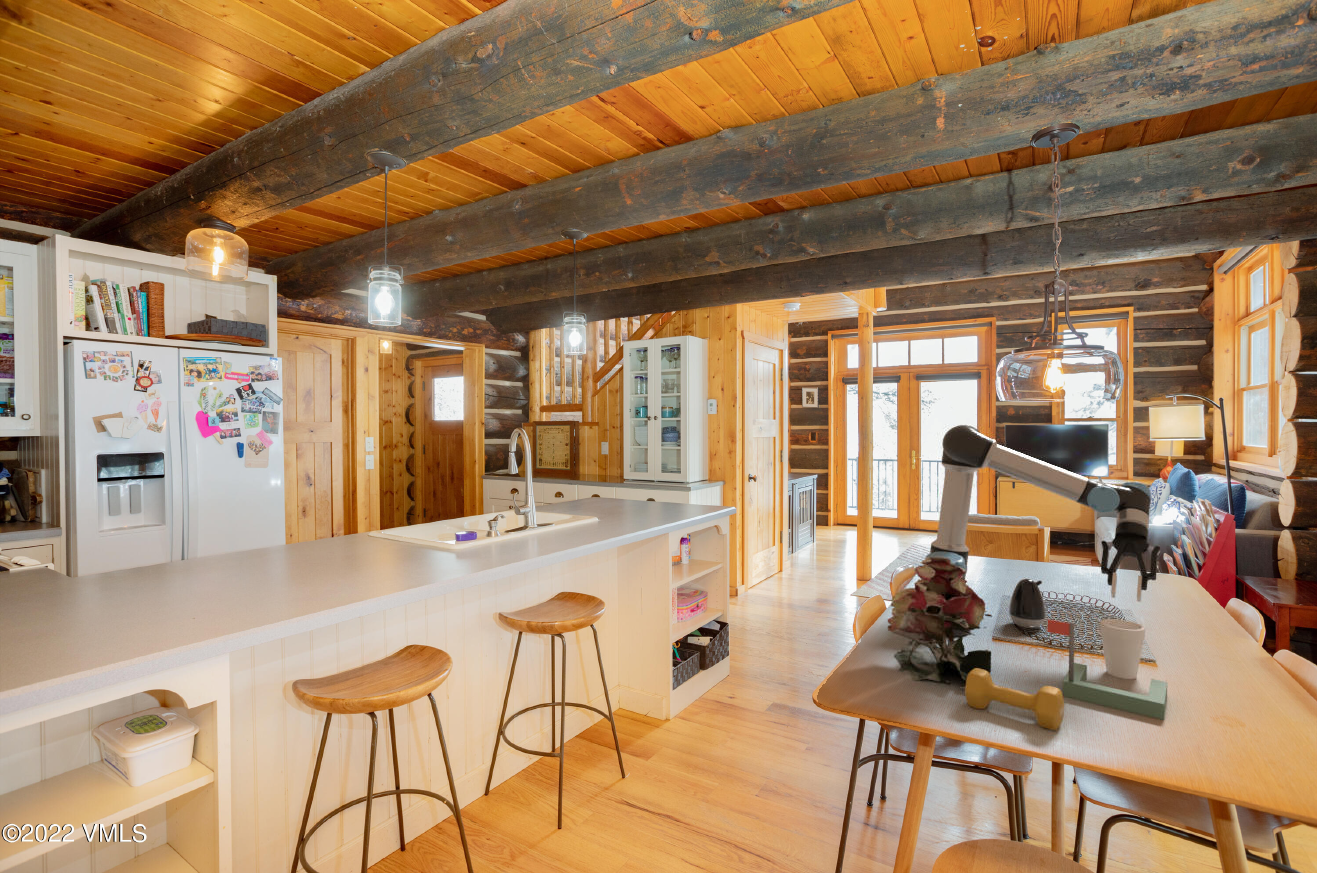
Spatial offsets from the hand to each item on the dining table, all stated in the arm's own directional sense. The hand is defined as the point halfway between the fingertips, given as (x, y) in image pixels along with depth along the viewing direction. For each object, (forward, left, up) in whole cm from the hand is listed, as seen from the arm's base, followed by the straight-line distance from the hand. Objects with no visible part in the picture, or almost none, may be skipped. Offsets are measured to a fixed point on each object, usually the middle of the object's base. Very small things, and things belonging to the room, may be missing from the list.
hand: (1125, 596), depth 171 cm
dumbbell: (-41, -38, -19) cm, 59 cm away
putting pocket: (-15, -22, -18) cm, 32 cm away
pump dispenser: (-14, +30, -18) cm, 38 cm away
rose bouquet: (-51, -12, -19) cm, 55 cm away
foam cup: (-5, -8, -18) cm, 21 cm away
